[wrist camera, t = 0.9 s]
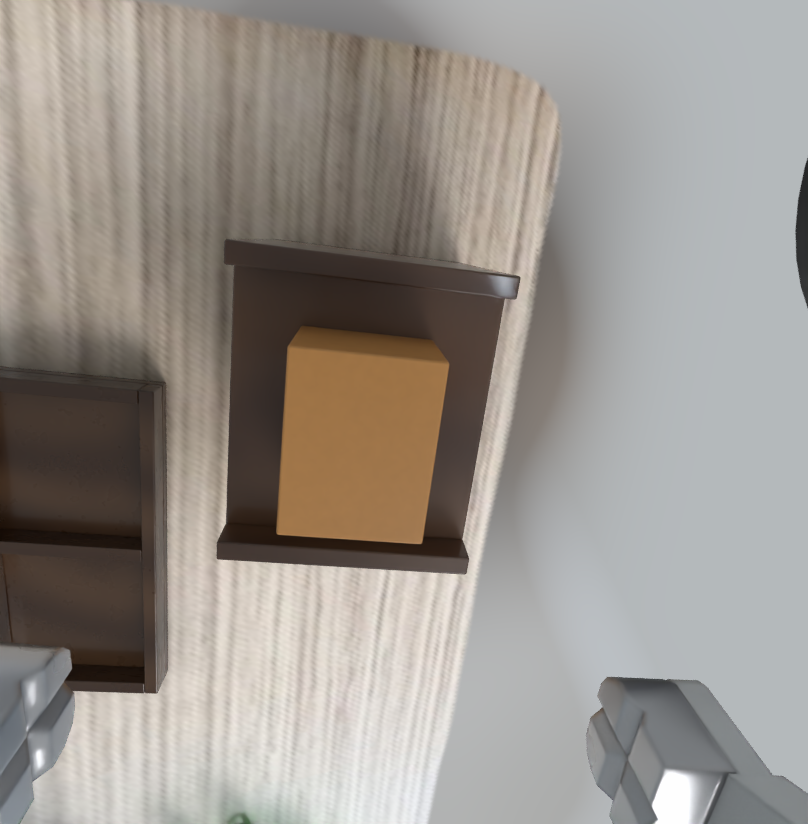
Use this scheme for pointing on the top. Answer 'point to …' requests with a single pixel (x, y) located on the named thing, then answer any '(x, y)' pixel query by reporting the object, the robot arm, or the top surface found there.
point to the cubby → (362, 312)
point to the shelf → (85, 524)
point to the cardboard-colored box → (359, 435)
